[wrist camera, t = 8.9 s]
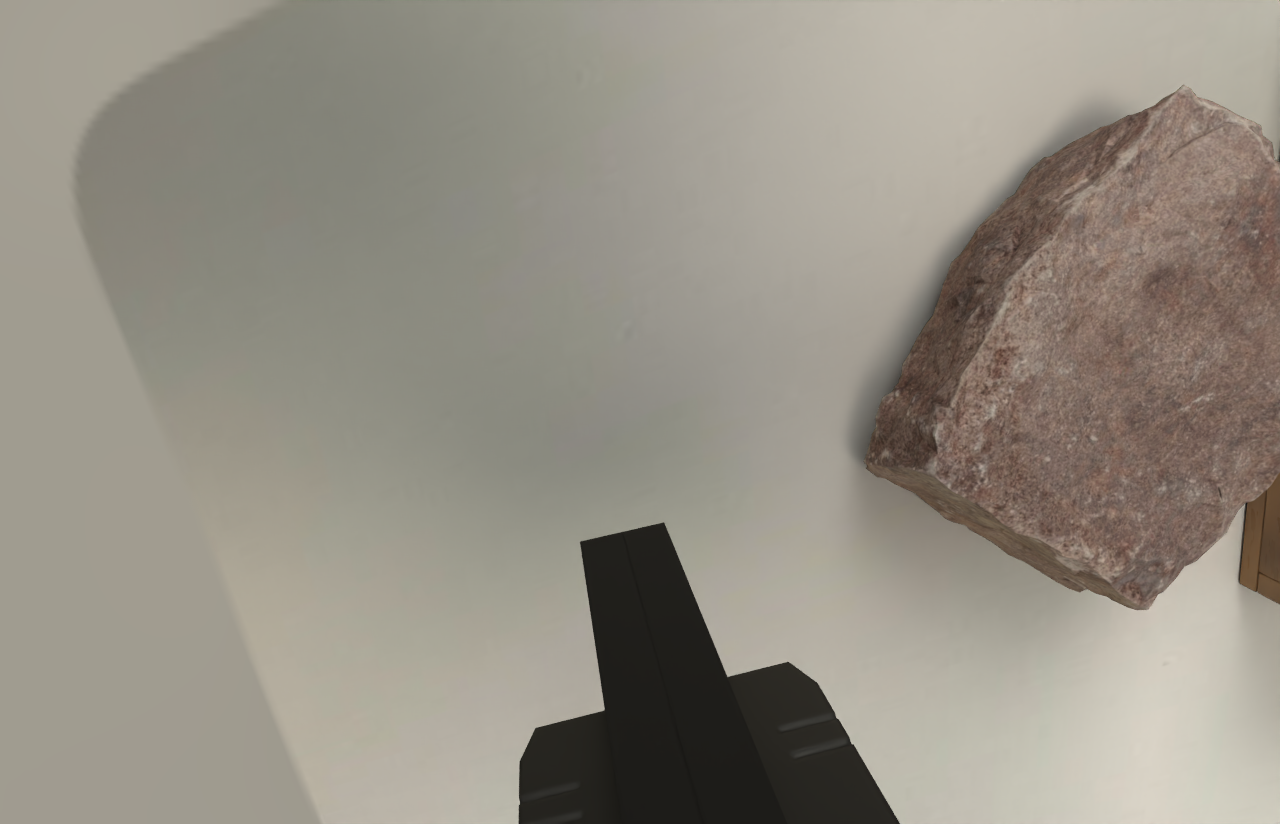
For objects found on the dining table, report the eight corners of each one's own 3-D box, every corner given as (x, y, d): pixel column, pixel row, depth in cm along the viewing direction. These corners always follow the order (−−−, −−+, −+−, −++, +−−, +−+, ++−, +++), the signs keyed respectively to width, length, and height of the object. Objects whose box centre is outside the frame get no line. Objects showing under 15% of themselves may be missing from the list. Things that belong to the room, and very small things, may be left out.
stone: (1074, 62, 19) (1251, 18, 14) (1273, 251, 21) (1476, 263, 17) (815, 435, 20) (898, 500, 16) (1027, 567, 23) (1150, 655, 18)
